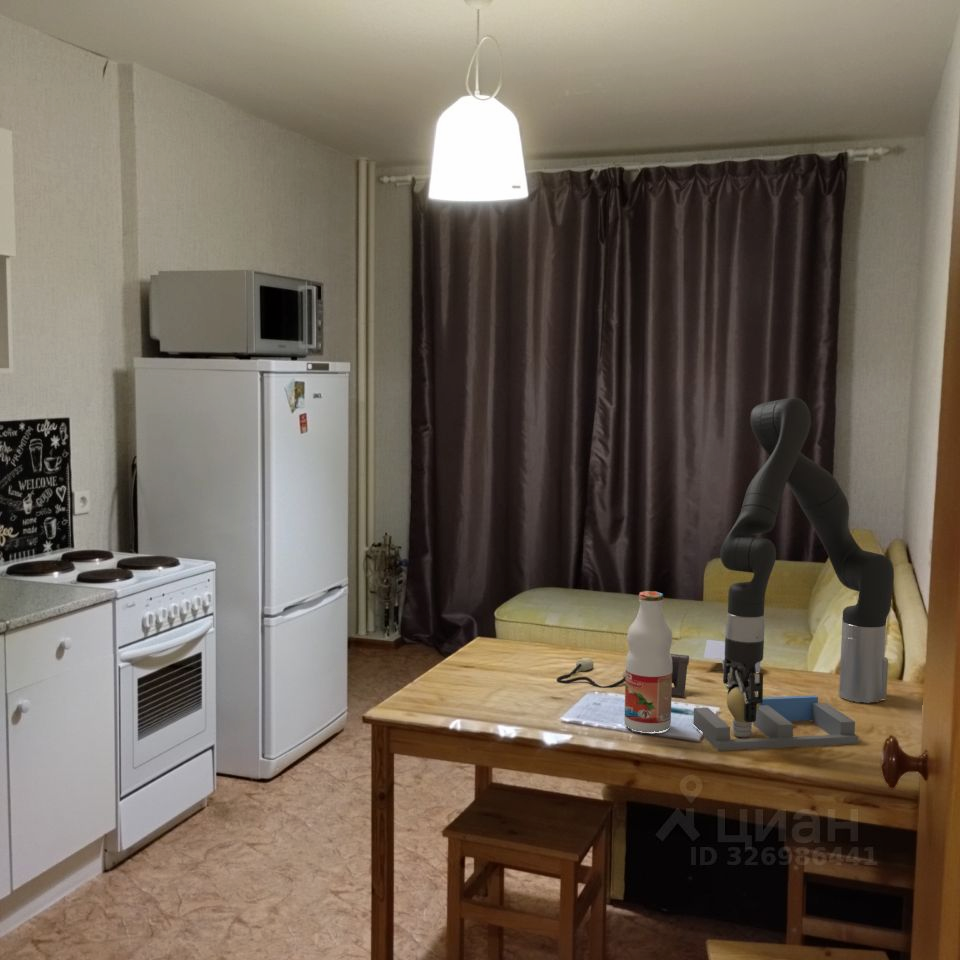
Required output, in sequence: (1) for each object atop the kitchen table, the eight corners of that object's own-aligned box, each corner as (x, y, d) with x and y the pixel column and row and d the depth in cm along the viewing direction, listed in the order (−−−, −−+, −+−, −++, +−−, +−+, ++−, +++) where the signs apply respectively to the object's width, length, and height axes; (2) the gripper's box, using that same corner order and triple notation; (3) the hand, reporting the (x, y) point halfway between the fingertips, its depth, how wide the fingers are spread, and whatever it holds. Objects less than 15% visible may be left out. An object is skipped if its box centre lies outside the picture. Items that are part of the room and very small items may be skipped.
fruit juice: (678, 733, 212) (682, 597, 209) (634, 736, 210) (638, 599, 207) (659, 718, 221) (663, 587, 218) (617, 721, 219) (620, 589, 216)
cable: (609, 696, 237) (609, 681, 237) (549, 682, 247) (549, 668, 247) (643, 680, 250) (643, 666, 249) (584, 668, 260) (585, 654, 259)
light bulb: (759, 742, 207) (761, 693, 206) (725, 739, 209) (727, 690, 208) (757, 731, 214) (759, 683, 213) (725, 728, 215) (726, 681, 214)
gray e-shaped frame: (821, 718, 222) (822, 695, 222) (857, 743, 207) (859, 719, 207) (690, 723, 218) (690, 700, 217) (717, 750, 203) (718, 725, 202)
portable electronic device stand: (644, 694, 238) (645, 658, 237) (650, 684, 245) (651, 649, 244) (683, 698, 235) (684, 662, 234) (688, 688, 242) (690, 653, 241)
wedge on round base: (702, 671, 256) (757, 677, 251) (703, 644, 256) (758, 650, 251) (709, 661, 265) (762, 667, 260) (710, 635, 264) (763, 641, 259)
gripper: (777, 644, 203) (773, 726, 204) (748, 626, 217) (744, 703, 218) (740, 645, 202) (737, 727, 203) (713, 627, 216) (710, 704, 217)
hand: (741, 714), depth 211 cm, fingers open, 8 cm apart
